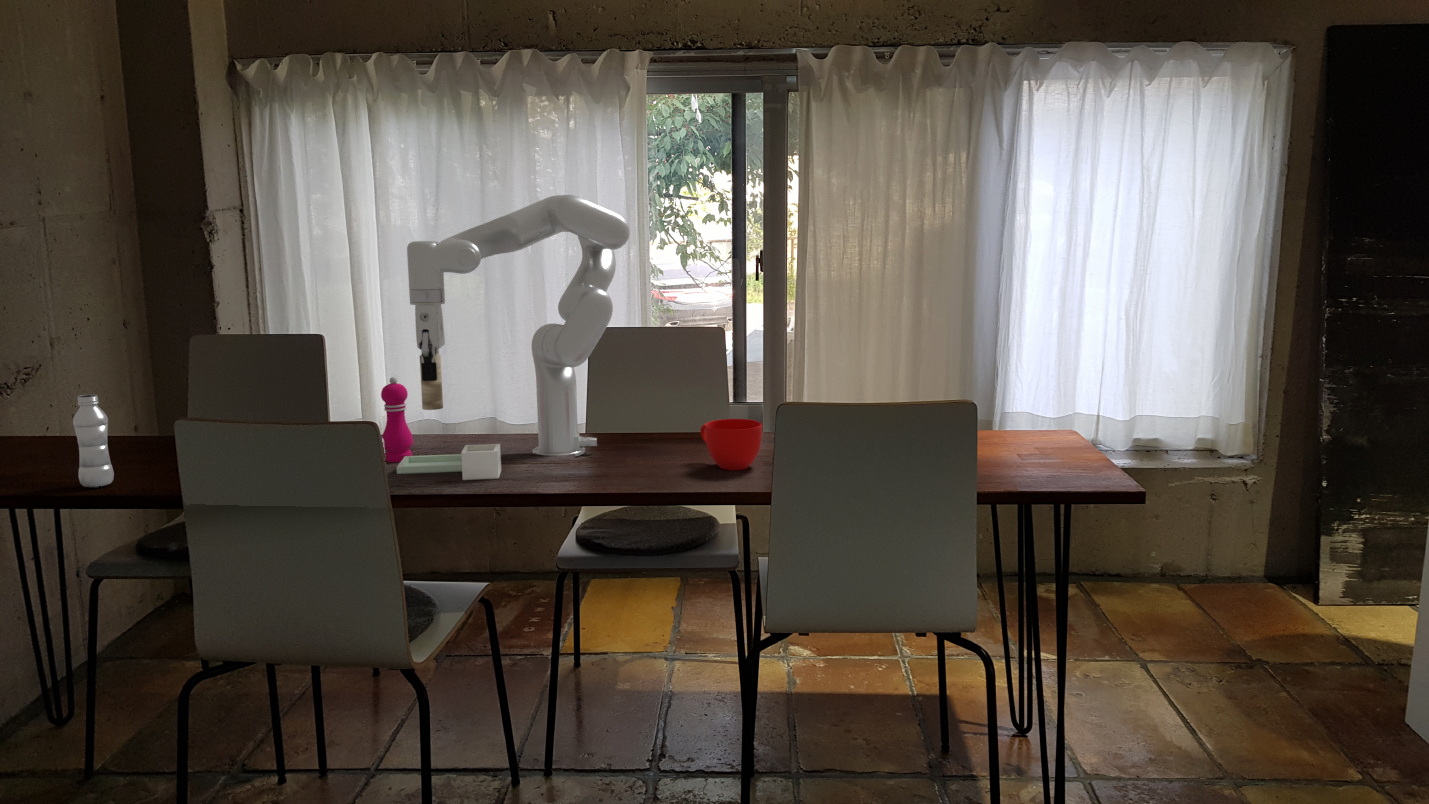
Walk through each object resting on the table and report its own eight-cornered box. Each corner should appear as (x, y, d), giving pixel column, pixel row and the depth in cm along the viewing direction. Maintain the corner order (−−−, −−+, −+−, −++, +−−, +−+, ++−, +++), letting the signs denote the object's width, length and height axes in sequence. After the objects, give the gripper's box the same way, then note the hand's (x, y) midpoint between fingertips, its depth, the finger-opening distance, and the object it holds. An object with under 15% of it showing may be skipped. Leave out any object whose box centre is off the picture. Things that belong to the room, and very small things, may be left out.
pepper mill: (405, 463, 246) (399, 379, 243) (377, 462, 248) (371, 378, 244) (419, 456, 253) (414, 375, 250) (392, 455, 255) (386, 374, 251)
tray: (475, 464, 245) (475, 453, 244) (470, 475, 234) (470, 464, 234) (405, 466, 243) (405, 456, 243) (397, 478, 232) (396, 467, 232)
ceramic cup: (721, 455, 251) (721, 414, 249) (774, 466, 239) (774, 423, 238) (682, 464, 242) (681, 422, 240) (734, 476, 230) (734, 432, 229)
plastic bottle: (88, 483, 231) (78, 393, 227) (120, 482, 231) (110, 393, 228) (73, 490, 225) (62, 398, 221) (106, 489, 225) (96, 398, 222)
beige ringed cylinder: (444, 406, 238) (441, 353, 236) (441, 409, 234) (438, 356, 232) (424, 406, 238) (421, 354, 236) (420, 410, 234) (418, 356, 231)
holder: (501, 474, 235) (500, 443, 234) (498, 482, 227) (497, 451, 226) (466, 475, 234) (465, 445, 233) (462, 484, 226) (461, 452, 225)
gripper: (439, 299, 224) (443, 384, 227) (449, 294, 240) (453, 373, 244) (403, 300, 223) (407, 385, 226) (416, 295, 240) (420, 374, 243)
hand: (431, 378), depth 235 cm, fingers closed on beige ringed cylinder, 4 cm apart
